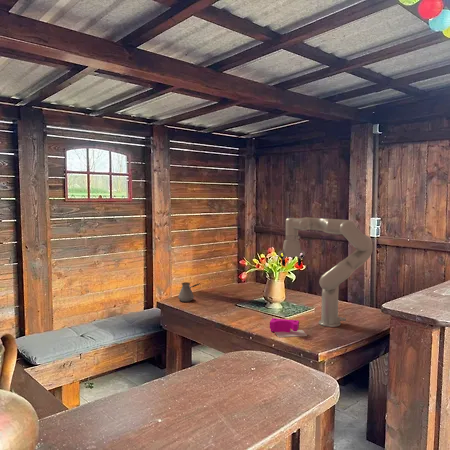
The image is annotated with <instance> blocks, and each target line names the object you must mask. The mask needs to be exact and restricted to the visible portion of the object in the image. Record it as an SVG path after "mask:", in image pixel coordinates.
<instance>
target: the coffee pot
mask: <svg viewBox="0 0 450 450" xmlns="http://www.w3.org/2000/svg"><path fill="white" fill-rule="evenodd" d="M181 285H182V286H181V288H180V291H179V293H178V299H179V301H180V302H183V303H187V302H192V300H194V298H195V295H194V293H193V291H192V288H195V287H197V286H200V285H201V283H196V284H192V285H191V282H189V281H188V282H186V281H185V282H181ZM190 285H191V286H190Z"/></svg>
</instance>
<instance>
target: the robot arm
mask: <svg viewBox="0 0 450 450" xmlns="http://www.w3.org/2000/svg"><path fill="white" fill-rule="evenodd" d="M307 230H310V231H311V230H313V231H320V232H323V233H325V234H326V233H327V234H333V235H334V234H335V235H342V236H343V237H344V238H345V239H346V240H347V241H348V243H350V244H351V245H352V246H353V248H355V250H354V251H353V252H352V253H350V254H349V255H348V256H347V257H345V258H344V259H342V260H340V261H339V262H338V263H337V264H336V265H334V266H333V267H332V268H331V269H329V270H328V271H325V272H324V273H323V274H322V275H321V276H320V277H319V280H318V281H319V283H318V284H319V286H320V288H321V314H320V315H321V319H319V320H318V324H319V325H320V326H323V327H328V328H337V327H340V326H341V322H346V321H347V318H346V317H342V316H339V288H340V285H341V284H342V283H343V282H346V280H347V279H349V278H350V277H351V276H352V274H353V273H354V272H355V271H356V270H357V269H359V268H361V267H362V266H363V265H364V264H365V263H366V262H368V260H369V259H370V257H371V256H372V253H373V249H374V246H373V244H374V243H373V241H372V238H371V237H370V236H369V235H367V234H363V232H362V231H361V230H360V229H359V228H358V227H357V224H356V222H355V221H353V220H350V219H340V218H339V219H338V218H336V219H335V218H320V217H309V216H308V217H307V216H306V217H300V218H297V217H287V218H286V219H285V240H283V244H282V245H283V246H282V250H279V251H278V252H277V255H278V257H279V258H280V260H281V265H282V266H283V267H286V258H287V257H289V258H292V257H293V258H294V257H295V258H296V257H297V266H299V267H301V265H302V259H303V258H304V257H305V256H306V251H304V250H302V249H301V245H300V240H299V239H301V236H300V235H299V231H304V232H305V231H307Z"/></svg>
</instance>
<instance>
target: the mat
mask: <svg viewBox="0 0 450 450" xmlns="http://www.w3.org/2000/svg"><path fill="white" fill-rule="evenodd" d="M274 333H275V335H276V336H277V338H293V337H294V338H295V337H297V338H298V337H299V338H300V337H308V334H307V333H306V332H305V331H304V330H303V329H298V330H297V331H293V330H292V329H291V330H290V333H289V332H274Z"/></svg>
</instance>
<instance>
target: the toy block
mask: <svg viewBox="0 0 450 450" xmlns="http://www.w3.org/2000/svg"><path fill="white" fill-rule="evenodd" d="M299 328H300V320H298V319H287V318H277V317H272V318H271V319H270V321H269V329H270V332H273V333H275V332H289V333H290V330H293V331H297V330H299Z"/></svg>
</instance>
